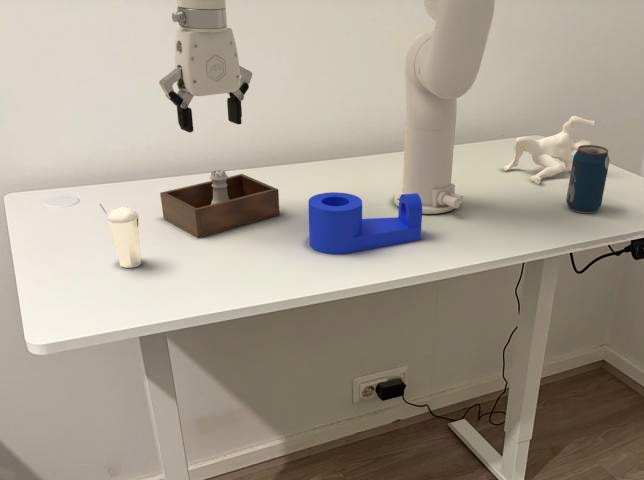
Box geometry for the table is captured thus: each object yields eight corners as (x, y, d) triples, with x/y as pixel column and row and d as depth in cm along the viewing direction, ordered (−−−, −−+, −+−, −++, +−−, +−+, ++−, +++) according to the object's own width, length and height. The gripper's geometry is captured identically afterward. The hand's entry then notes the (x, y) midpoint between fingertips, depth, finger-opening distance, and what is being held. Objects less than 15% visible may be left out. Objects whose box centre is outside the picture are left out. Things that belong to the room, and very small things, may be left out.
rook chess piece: (237, 210, 137) (234, 169, 133) (230, 219, 134) (226, 176, 129) (214, 209, 138) (210, 167, 133) (206, 217, 134) (202, 174, 130)
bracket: (317, 256, 122) (316, 213, 118) (303, 236, 130) (302, 194, 126) (425, 244, 129) (428, 202, 125) (406, 225, 136) (408, 185, 132)
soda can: (606, 209, 148) (618, 149, 142) (588, 217, 144) (599, 156, 137) (576, 200, 152) (586, 142, 146) (558, 207, 148) (568, 148, 141)
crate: (243, 198, 145) (242, 173, 142) (279, 214, 138) (278, 189, 135) (163, 219, 134) (159, 192, 131) (198, 237, 127) (195, 210, 124)
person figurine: (532, 134, 153) (595, 111, 160) (495, 133, 164) (556, 111, 171) (541, 194, 159) (601, 169, 166) (504, 189, 169) (563, 166, 176)
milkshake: (114, 258, 119) (103, 198, 113) (148, 258, 119) (139, 198, 114) (107, 269, 115) (95, 208, 110) (142, 269, 115) (132, 209, 110)
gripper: (166, 25, 111) (178, 139, 120) (260, 19, 122) (265, 124, 131) (142, 19, 116) (155, 128, 125) (234, 14, 126) (240, 115, 135)
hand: (211, 126), depth 128 cm, fingers open, 9 cm apart
